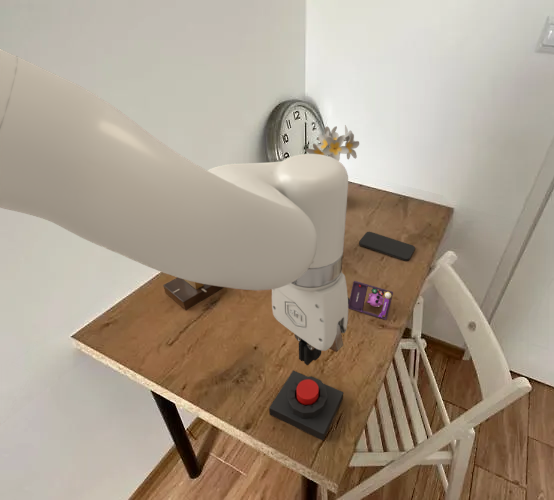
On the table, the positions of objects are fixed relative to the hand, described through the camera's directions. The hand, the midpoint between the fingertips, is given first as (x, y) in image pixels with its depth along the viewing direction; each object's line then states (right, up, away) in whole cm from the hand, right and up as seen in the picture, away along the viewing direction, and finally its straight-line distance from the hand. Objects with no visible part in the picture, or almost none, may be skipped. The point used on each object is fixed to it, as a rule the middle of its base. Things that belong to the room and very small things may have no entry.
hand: (310, 356), depth 53 cm
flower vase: (+2, +31, +66) cm, 73 cm away
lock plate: (-29, +7, +29) cm, 42 cm away
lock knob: (-29, +9, +28) cm, 41 cm away
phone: (+18, +17, +48) cm, 54 cm away
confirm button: (-1, -8, +6) cm, 10 cm away
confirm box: (-1, -11, +8) cm, 14 cm away
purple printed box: (+11, +3, +28) cm, 31 cm away
